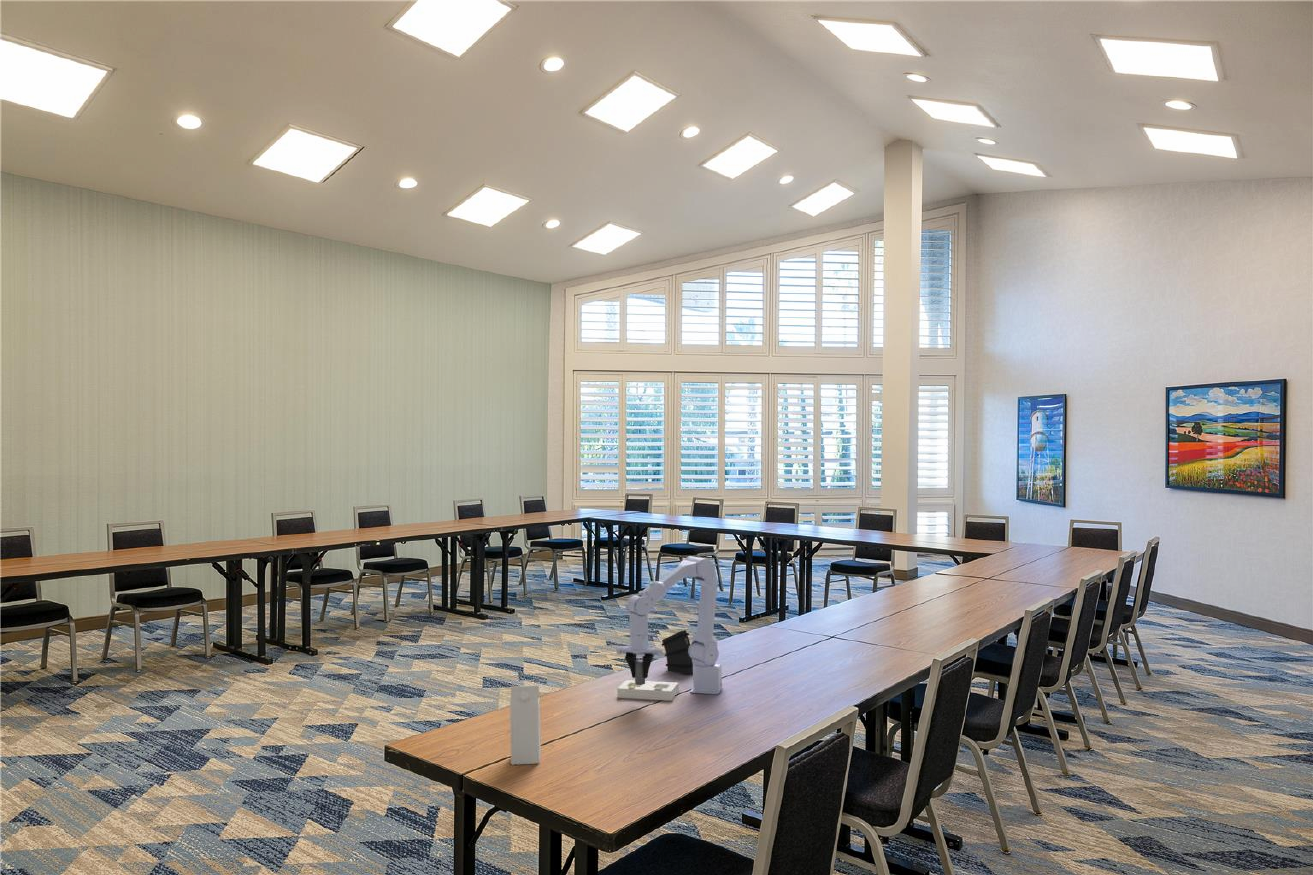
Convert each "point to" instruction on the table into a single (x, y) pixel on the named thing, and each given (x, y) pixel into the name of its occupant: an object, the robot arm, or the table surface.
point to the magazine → (678, 653)
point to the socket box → (648, 690)
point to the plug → (639, 672)
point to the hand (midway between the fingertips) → (640, 677)
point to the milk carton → (525, 725)
